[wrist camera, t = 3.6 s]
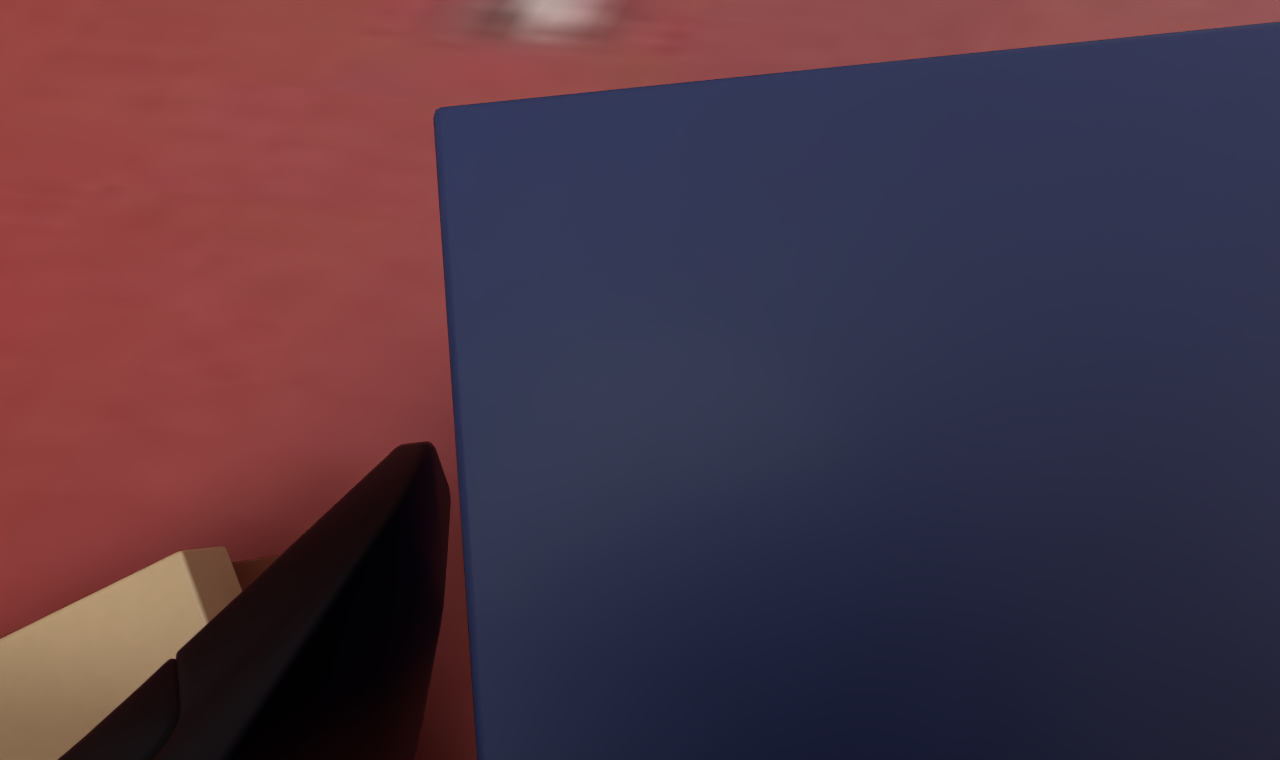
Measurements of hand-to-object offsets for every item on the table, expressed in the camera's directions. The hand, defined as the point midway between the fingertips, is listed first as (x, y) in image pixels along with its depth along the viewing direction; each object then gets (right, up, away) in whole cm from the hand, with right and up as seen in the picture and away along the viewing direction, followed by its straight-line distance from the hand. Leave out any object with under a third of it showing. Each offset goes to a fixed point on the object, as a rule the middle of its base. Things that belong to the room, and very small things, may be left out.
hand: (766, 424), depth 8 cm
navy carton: (0, -3, +7) cm, 7 cm away
